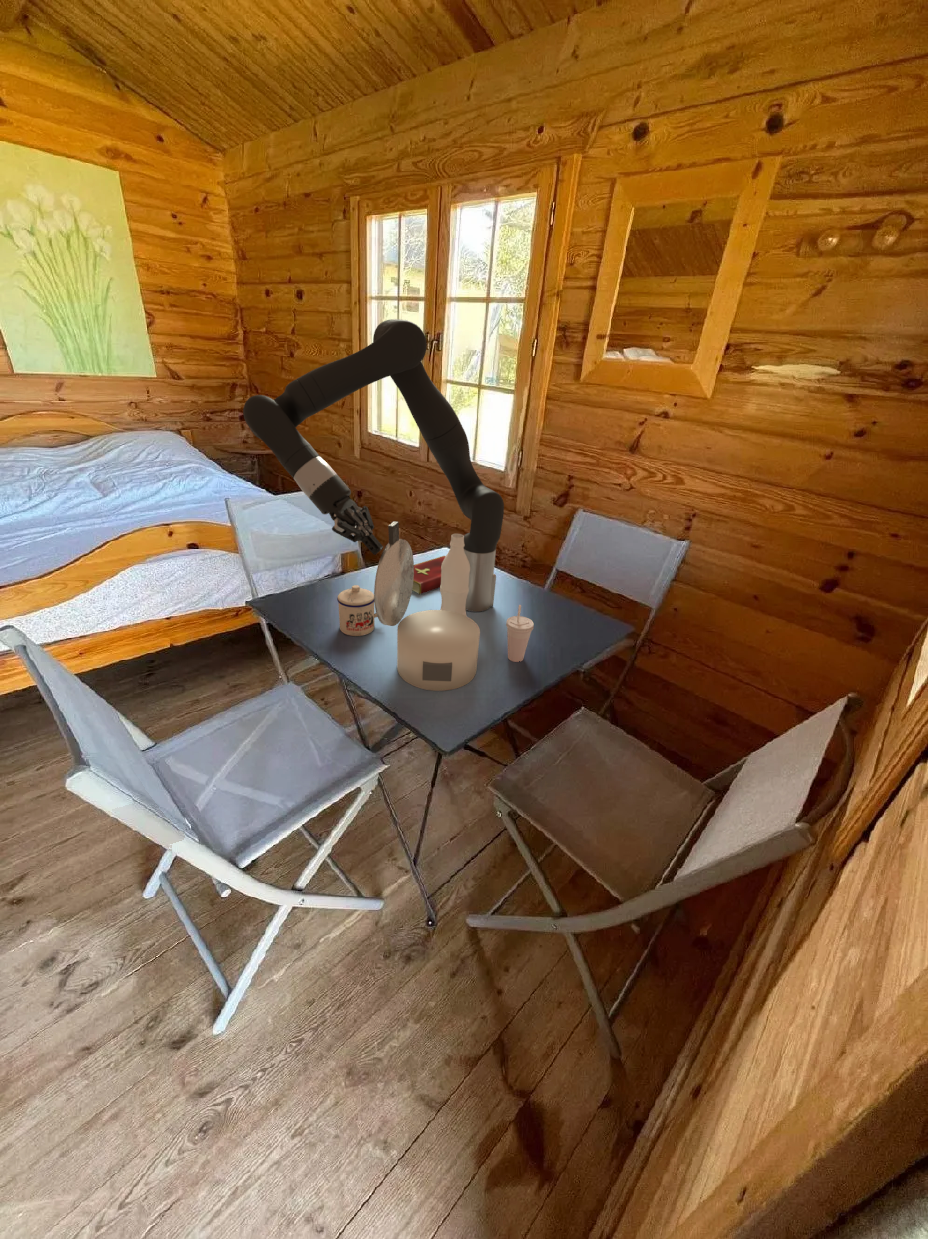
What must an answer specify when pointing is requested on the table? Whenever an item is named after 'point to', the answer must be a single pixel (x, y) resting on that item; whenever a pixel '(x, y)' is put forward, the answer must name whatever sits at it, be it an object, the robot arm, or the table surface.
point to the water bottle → (455, 577)
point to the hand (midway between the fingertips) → (379, 551)
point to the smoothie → (518, 636)
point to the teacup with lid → (356, 611)
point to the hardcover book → (427, 575)
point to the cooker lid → (394, 579)
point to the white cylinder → (437, 649)
